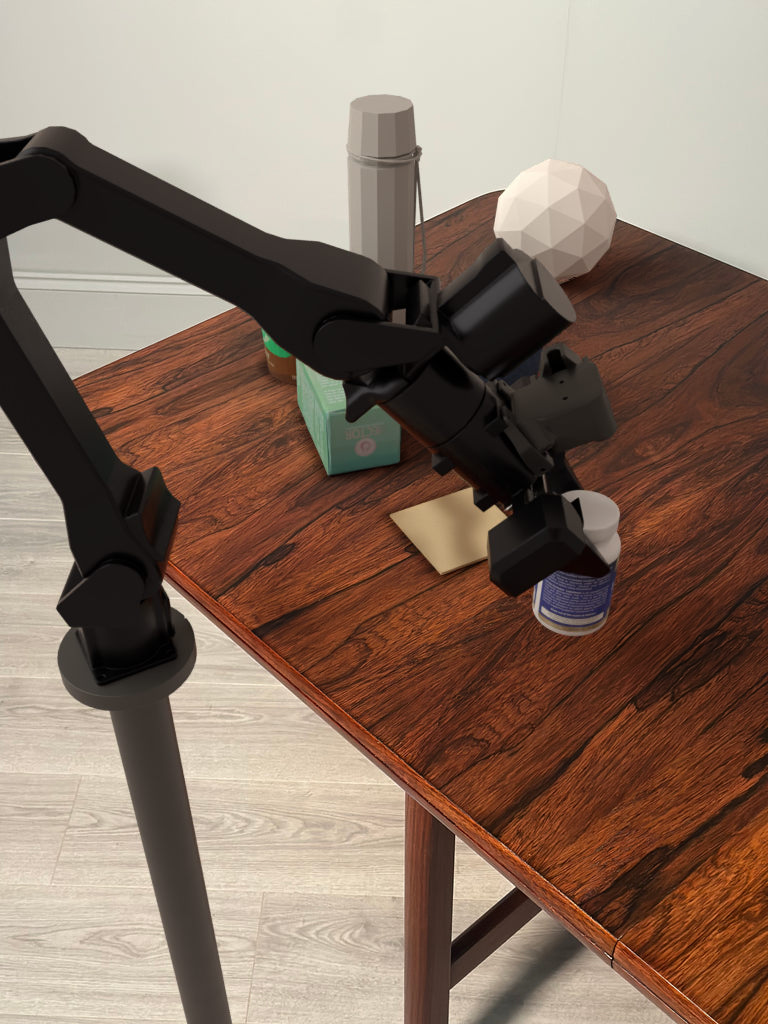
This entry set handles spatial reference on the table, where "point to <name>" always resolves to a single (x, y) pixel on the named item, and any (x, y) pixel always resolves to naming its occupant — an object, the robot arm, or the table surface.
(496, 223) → the geometric sphere
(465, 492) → the sticky note
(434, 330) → the robot arm
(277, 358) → the food container
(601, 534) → the pill bottle
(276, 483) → the table surface
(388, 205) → the water bottle
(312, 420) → the box
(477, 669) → the table surface
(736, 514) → the table surface
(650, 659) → the table surface
